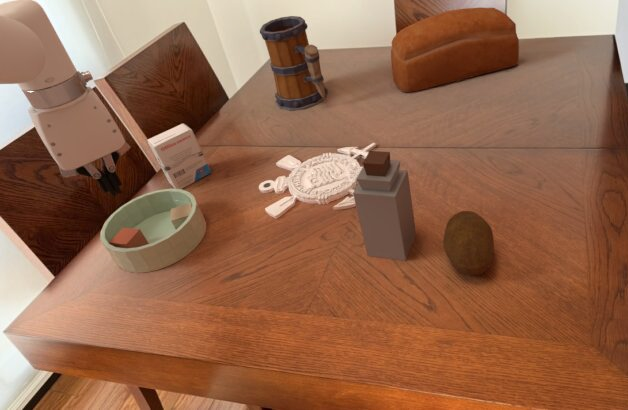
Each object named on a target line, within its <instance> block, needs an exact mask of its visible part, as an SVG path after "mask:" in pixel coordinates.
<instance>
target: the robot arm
mask: <svg viewBox="0 0 628 410" xmlns="http://www.w3.org/2000/svg"><path fill="white" fill-rule="evenodd" d="M92 80H94V78H93V76H92V74H91V72H90V71H89V70H87V71H81V72H80V71H78V70H77V68H76V65H74V63H73V61H72V59H71V57H70V55H69V53H68V51H67V50H66V47H65V46H64V44H63V42H62V41H61V39H60V37H59V35H58V33H57V31H56V29H55V28H54V26H53V24H52V21H51V20H50V18H49V17H48V15H47V13H46V11H45V10H44V8H43V7H42V5H41V4H39V2H37V1H36V0H11V1H7V2H3V3H0V85H16V84H17V85H18V86H19V88H20V90H21V91H22V92H23V94H24V96H25V97H26V99H27V101H28V102H29V104H30V105H31V106H30V107H29V108H28V110H27V111H28V113H29V117H30V119H31V121H32V124H33V126H34V128H35V130H36V132H37V134H38V135H39V137H40V139H41V141H42V143H43V144H44V147H45V148H46V149H47V151H48V153H49V155H50V156H51V158H52V160H53V161H54V162H55V163H56V164H57V167H58V169H59V173H60V175H61V176H62V178H64V179H67V178H72V177H75V176H76V177H77V176H79V175H81V176H86V177H90V178H93V179H94V180H96V182H97V184H98V185H99V186H100V189H101V190H102V192H103V194H106V193H109V194H110V195H111V197H112V198H114V197H116V196H117V195H120V194H122V193H123V191H122V189H121V186H123V183H122V181H121V180H120V178H119V176H118V174H117V172H116V169H117V167H116V166H117V164H118V161H119V159H120V157H121V156H123V155H124V154H125V153H126V152H128V151H129V150H130V149H131V145H130V144H129V143H128V142H127V141H126V140H125V137H124V135H123V133H122V131H121V130H120V128H119V126H118V124H117V123H116V121H115V119H114V118H113V116H112V115H111V113H110V111H109V110H108V109H107V107H106V106H105V104H104V103H103V102H102V100H101V98H100V97H99V95H98V94H97V93H96V92H95V91H94V89H93V88H92V87H91V86H87V85H88V84H87V83H89V82H91V81H92ZM99 159H100V160H101V161H100V162H101V163H102V170H101V169H100V168H98V167H96V166H95V165H94V164H93V163H92V162H94V161H96V160H99Z"/></svg>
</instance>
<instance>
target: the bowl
mask: <svg viewBox="0 0 628 410" xmlns="http://www.w3.org/2000/svg"><path fill="white" fill-rule="evenodd" d="M188 203H192V209H191V213H190V214H189V216H188V217H187V219H186V221H185V222H184V223H183V224H182V225H181V226H180V227H178V228H177V229H175V227H174V226H173V224H172V222H171V209H172V208H176V207H179V206H182V205H185V204H188ZM207 224H208V223H207V221H206V218H205V215H204V213H203V211H202V209H201V207H200V205H199V203H198V201H197V199H196V197H195V196H194V194H192V192H190V191H187V190H185V189H183V188H182V189H175V188H164V189H157V190H154V191H150V192H147V193H143V194H142V195H139V196H137V197H135V198H133V199H131V200H129V201H128V202H126V203H124V204H123V205H121V206H119V208H117V209H116V210H115V211H114V212H113V213H112V214H110V216H109V217H108V218H107V219H106V220H105V222H104V224H103V225H102V228H101V230H100V233H99V234H100V238H99V239H100V242H101V243H102V245H103V246H104V248H105V249H106V250H107V252H108V254H109V255H110V257H111V258H112V259H113V261H114V262H115V264H116V265H117V267H118V268H120V269H121V270H123V271H125V272H128V273H135V274H143V273H149V272H155V271H158V270H161V269H164V268H167V267H170V266H172V265H174V264H175V263H177V262H179V261H181V260H182V259H184V258H185V257H187V256H188V255H189V254H190V253H192V252H193V251H194V250H195V249H196V248H197V247H198V246H199V245H200V243H201V242H202V241H203V239H204V237H205V234H206V232H207V226H208V225H207ZM122 228H132V229H140V230H141V232H142V233H143V235H144V237H145V238H146V240H147V242H148V243H149V244H147V245H144V246H141V247H135V248H118V247H115V246H112V245H110V243H109V242H110V241H111V240H112V239H113V238H114V237H115V236H116V234H117V233H118V232H119V231H120V230H121V229H122Z"/></svg>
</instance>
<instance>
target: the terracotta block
mask: <svg viewBox="0 0 628 410" xmlns="http://www.w3.org/2000/svg"><path fill="white" fill-rule="evenodd" d="M109 243H110V245H112V246H115V247H118V248H135V247H141V246H144V245H147V244H149V243H148V242H147V240H146V238H145V237H144V235H143V233H142V232H141V230H140V229H132V228H122V229H121V230H120V231H119V232H118V233H117V234H116V236H115V237H114V238H113V239H112V240H111V241H110V242H109Z"/></svg>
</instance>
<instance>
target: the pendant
mask: <svg viewBox="0 0 628 410" xmlns="http://www.w3.org/2000/svg"><path fill="white" fill-rule="evenodd" d="M376 147H377V144H376V143H375V142H372V143H370V144H369V145H367V146H365V147H364V148H362V149H359V146H345V147H341V148H337V149H336V151H337V153H335V152H334V153H332V152H323V153H322V154H320V155H317V156H312V157H310V158H308V159H306V160H305V161H301V160H299V159H298V158H296V157H295V156H293V155H291V154H288V155H286V156H284V157H282V158H281V159H279V160H278V161H277V162H276V163H275V165H276V167H278V168H281V169H284V170H287V171H290V173H289V174H288V176H287V177H286V175H281V176H277V178H276V179H275V180H272V179H268V180H264V181H262V182H260V184H258V190H259V192H260V193H261V194H268V193H271V192H273V191H274V193H275V194H276V195H281V194H284V193H285V192H286V190H287V189H288V191H289V193H290V194H291V196H284V197H283V198H281V199H279V200H278V201H276V202H273V203H272V204H269V205H268V206H267V207H265V208H264V210H265V213H267V215H268V216H270V217H272V218H273V219H276V220H278V219H279V218H280V217H282V216H283V215H285V214H286V213H287V212H288V211H290V209H292V208H294V206H296V202H297V201H299V202H302V203H306V204H313V205H315V204H318V205H319V206H322V205H323V206H324V205H329V204H330V203H331V202H333V201H337V200H339V199H342V198H344V197H345V196H346V197H345V198H344V199H343V200H342V201H339V202H338V203H336V204H335V205H334V206H332V210H333V211H339V210H346V209H347V210H348V209H351V208H355V207H356V204H355V199H354V195H353V192H354V191H355V189H356V187H357V185H358V184H359V183H358V181H357V180H356V178H357V177H358V175H359V173H360V171H361V170H362V168H363V166H361V165H360V163H359V161H358V159H360V158H362V159H363V160H365V158H366V156H367V155H368V153H369V151H373V150H374V149H375V148H376ZM352 155H353V156H352ZM347 195H350V196H351V197H349V196H347Z"/></svg>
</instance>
